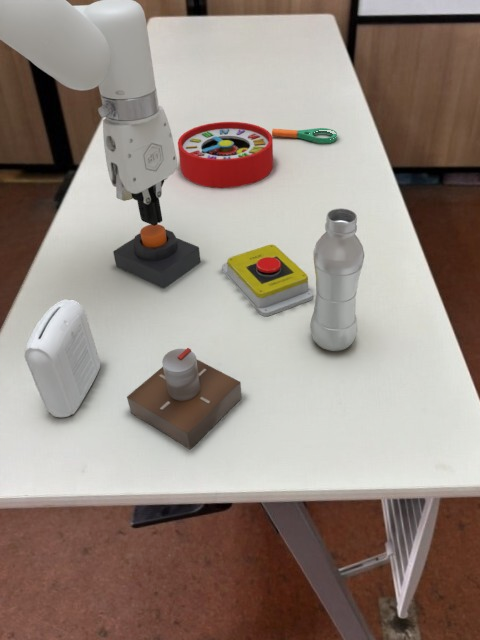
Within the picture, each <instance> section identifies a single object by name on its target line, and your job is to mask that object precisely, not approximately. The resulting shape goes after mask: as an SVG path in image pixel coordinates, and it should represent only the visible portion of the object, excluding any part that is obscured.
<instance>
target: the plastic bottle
mask: <svg viewBox="0 0 480 640" xmlns="http://www.w3.org/2000/svg"><path fill="white" fill-rule="evenodd" d="M357 222H358V216H357V214H356V212H355V211H353V210H351V209H348V208H334V209H331V210H329V211H328V212H327V213H326V219H325V224H324V230H325V232H324V233H323V234H322V235H321V237H320V238H319V239H318V240H317V241H316V243H315V245H314V248H313V251H312V252H313V253H312V254H313V264H314V273H315V293H316V294H315V301H314V307H313V313H312V316H311V319H310V324H309V325H310V326H309V327H310V328H309V329H310V332H311V337H312V340H313V341H314V342H315V344H317V345H318V347H320V348H321V349H323V350H325V351H329V352H340V351H344V350H346V349H348V347H350V346H351V345H352V344H353V343H354V342H355V339H356V336H357V333H358V320H357V314H356V313H357V311H356V309H357V304H356V303H357V299H356V298H357V291H358V286H359V280H360V276H361V272H362V269H363V265H364V261H365V251H364V246H363V243H362V242H361V240H360V238H359V237H358V236H357V235H356V233H357V231H358V225H357Z"/></svg>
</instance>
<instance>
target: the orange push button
mask: <svg viewBox="0 0 480 640" xmlns="http://www.w3.org/2000/svg"><path fill="white" fill-rule="evenodd" d="M165 229H166V227H165V226H163V225H162V224H159V223H158V224H157V225H155V226H154V225H151V224H148V225H145V226H143V227H142V228H141V229H140V232H139V233H140V234H141V239H142V244H143V245H144V246H145V247H159V246H162V245H164V244H165V243H166V242H167V237H166V231H165Z"/></svg>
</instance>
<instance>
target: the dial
mask: <svg viewBox="0 0 480 640" xmlns="http://www.w3.org/2000/svg"><path fill="white" fill-rule="evenodd" d="M196 359H197V356H196V354H195V353H194V352H193V351H192V349H191V348H189V347H187V348H176V349H175V348H174V349H172V350H170V351H168V352H167V353H166V354H165V355H164V356H163V357H162V360H161V363H162V367H163V369H164V374H165V379H166V384H167V389H168V393H169V395H170V397H172V398H173V399H175V400H179V401H186V400H190V399H192V398H194V397H195V396H196V395H197V394H198V393H199V391H200V382H199V374H198V367H197V360H198V359H197V360H196Z"/></svg>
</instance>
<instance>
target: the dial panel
mask: <svg viewBox="0 0 480 640" xmlns="http://www.w3.org/2000/svg"><path fill="white" fill-rule="evenodd" d="M196 360H197V367H198V374H199V382H200V391H199V393H198V394H197V395H196V396H195V397H194V398H192V399H190V400H186V401H179V400H175V399H173V398H172V397H170V395H169V393H168V389H167V384H166V379H165V374H164V369H163V366H162V367H161V368H159V369H158V370H157V371H155V372H154V373H153V374H152V375H151V376H150V377H149V378H147V379H146V380H145V381H144V382H142V383H141V384H140V385H139V386H138V387H137V388H135V389H134V390H133V391H132V392H131V393H129V394H128V395H127V396H126V399H127V404H128V407H129V410H130V413H131V414H132V415H134V416H136V417H137V418H139V419H140V420H141V421H144V422H145V423H147V424H149V425H150V426H151V427H153V428H154V429H157V430H158V431H159V432H161V433H163V434H165V435H167V436H168V437H170V438H171V439H173V440H174V441H176V442H178V443H179V444H181V445H183V446H184V447H186V448H188V449H189V450H191V449H193V447H194V446H196V445H197V443H198V442H199V441H201V440H202V439H203V437H204V436H205V435H206V434H208V432H209V431H210V430H212V428H214V426H215V425H216V424H218V422H220V420H221V419H223V418H224V416H225V415H226V414H227V413H228V412H230V411H231V409H232V408H234V407H235V405H236V404H237V403H238V402H239V401H240V400H242V398H243V397H242V383H241V381H240V380H237V379H236V378H234V377H232V376H230V375H228V374H226V373H224V372H222V371H220V370H218V369H216V368H215V367H213V366H210V365H209V364H208V363H207V364H206V363H205V362H204V361H201V360H199V359H198V358H196Z"/></svg>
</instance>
